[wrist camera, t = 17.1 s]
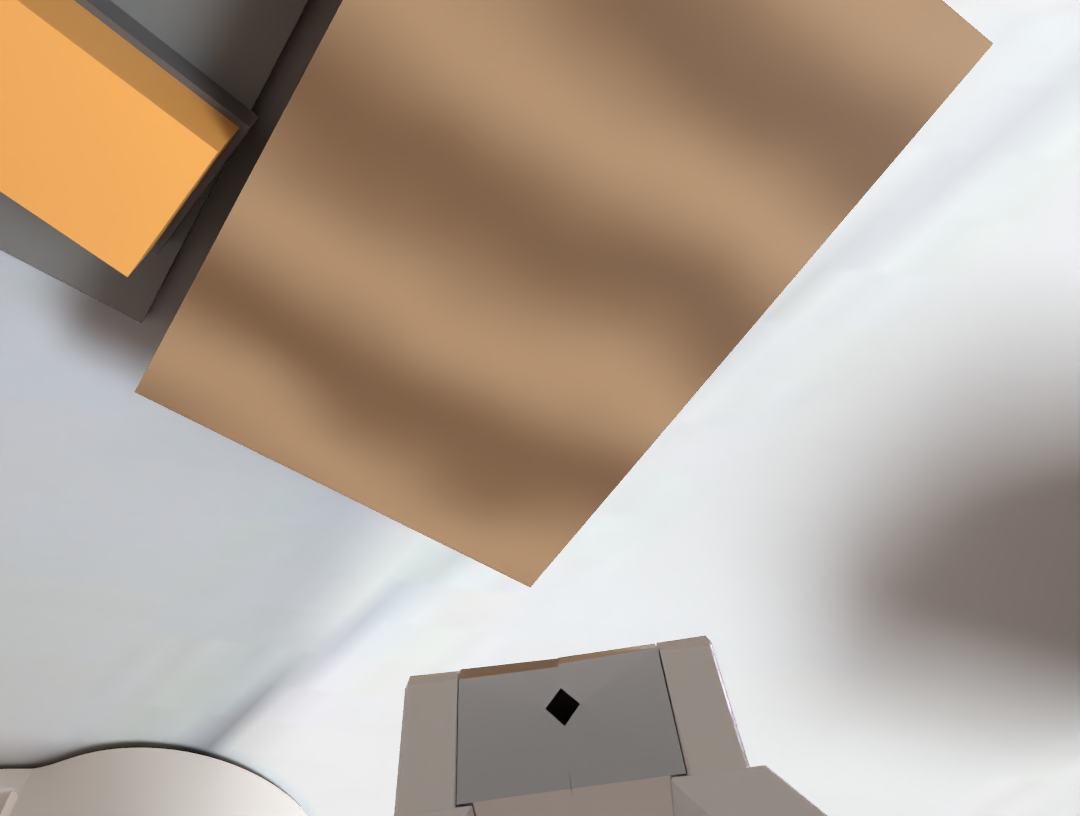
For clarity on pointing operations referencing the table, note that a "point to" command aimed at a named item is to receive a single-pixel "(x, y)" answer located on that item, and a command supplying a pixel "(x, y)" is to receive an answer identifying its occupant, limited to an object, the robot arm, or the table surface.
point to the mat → (242, 70)
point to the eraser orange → (107, 126)
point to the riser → (534, 239)
